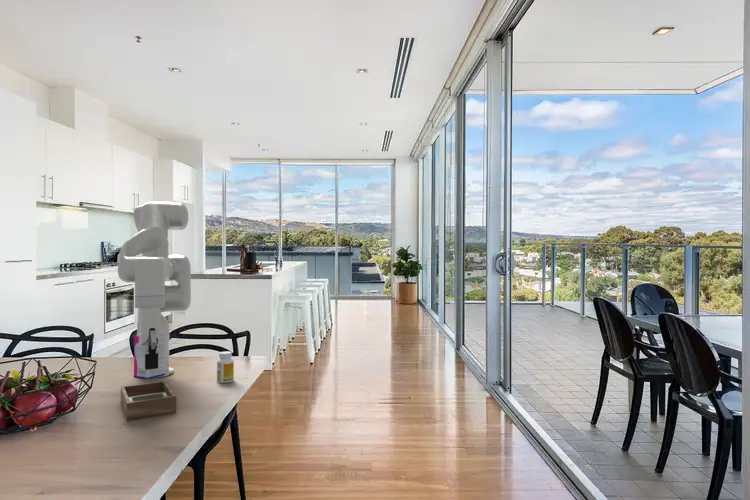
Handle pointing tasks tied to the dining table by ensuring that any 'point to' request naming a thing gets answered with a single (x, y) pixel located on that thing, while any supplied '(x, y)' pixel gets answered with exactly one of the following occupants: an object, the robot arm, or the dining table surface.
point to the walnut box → (147, 400)
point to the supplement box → (140, 359)
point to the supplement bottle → (225, 367)
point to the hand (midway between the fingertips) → (149, 365)
